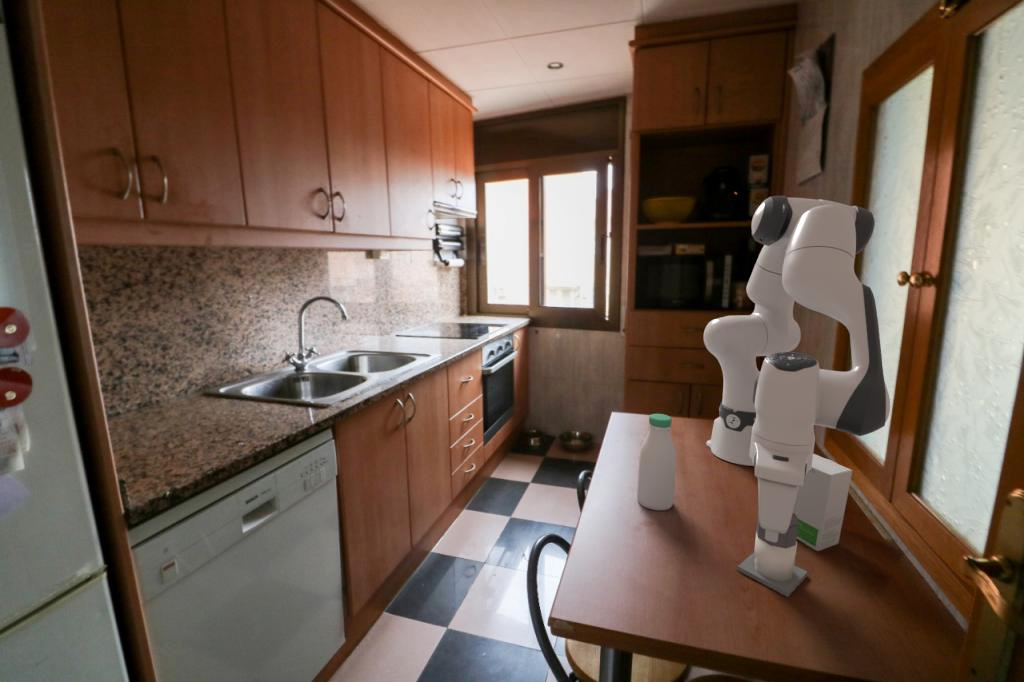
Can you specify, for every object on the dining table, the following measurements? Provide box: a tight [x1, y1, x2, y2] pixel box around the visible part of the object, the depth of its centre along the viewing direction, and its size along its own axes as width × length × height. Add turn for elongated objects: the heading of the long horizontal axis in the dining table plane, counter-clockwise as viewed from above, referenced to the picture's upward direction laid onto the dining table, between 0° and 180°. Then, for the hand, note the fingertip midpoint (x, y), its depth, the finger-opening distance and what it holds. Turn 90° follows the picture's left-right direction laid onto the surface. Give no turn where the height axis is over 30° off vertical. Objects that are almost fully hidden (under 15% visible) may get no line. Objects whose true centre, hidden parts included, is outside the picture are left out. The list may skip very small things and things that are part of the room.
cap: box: [755, 511, 798, 549], centre depth 75 cm, size 6×6×5 cm
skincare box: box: [793, 453, 853, 552], centre depth 86 cm, size 8×7×16 cm
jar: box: [737, 531, 808, 598], centre depth 76 cm, size 8×8×10 cm
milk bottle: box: [636, 413, 677, 511], centre depth 98 cm, size 8×8×20 cm
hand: (771, 528), depth 76 cm, fingers closed on cap, 5 cm apart
